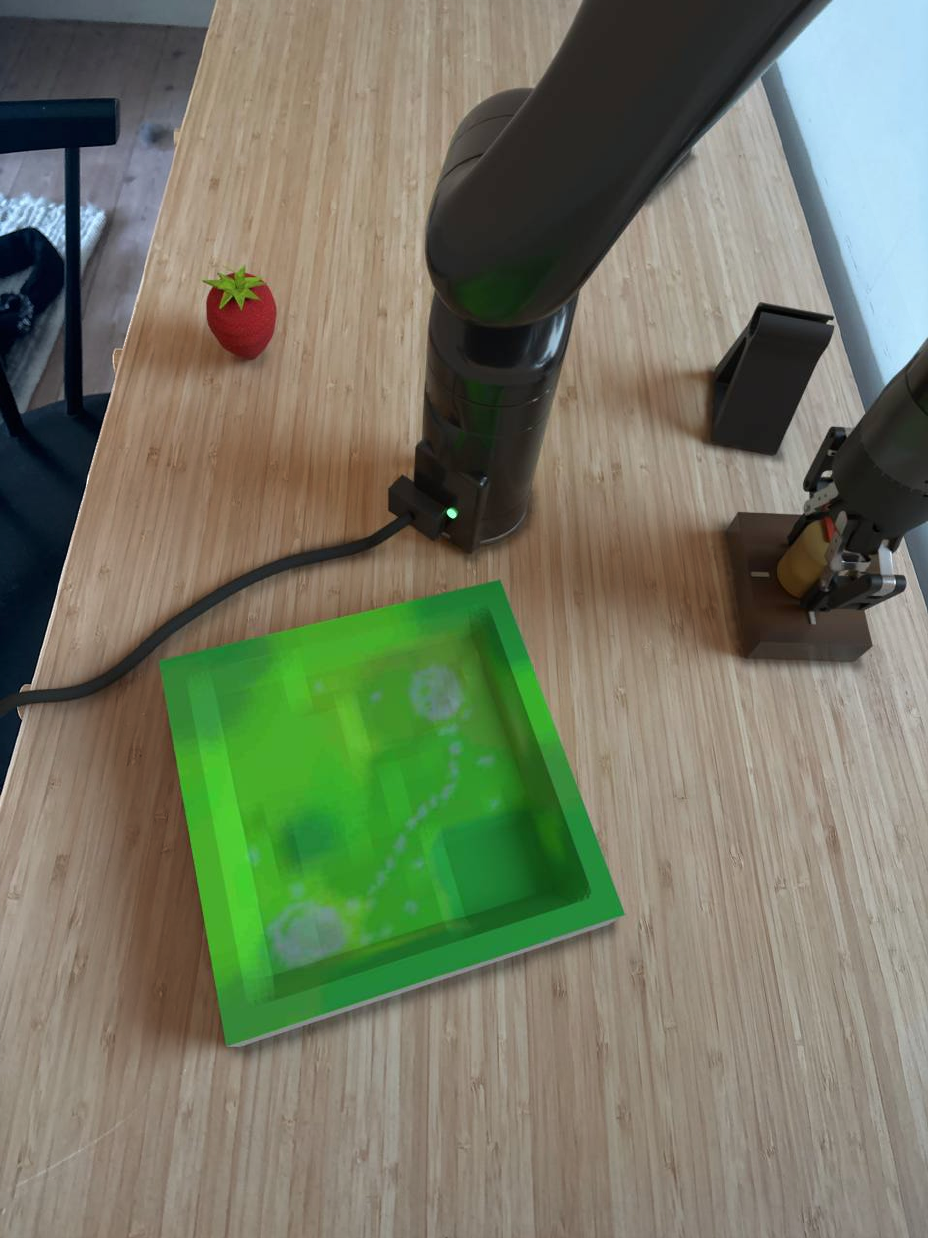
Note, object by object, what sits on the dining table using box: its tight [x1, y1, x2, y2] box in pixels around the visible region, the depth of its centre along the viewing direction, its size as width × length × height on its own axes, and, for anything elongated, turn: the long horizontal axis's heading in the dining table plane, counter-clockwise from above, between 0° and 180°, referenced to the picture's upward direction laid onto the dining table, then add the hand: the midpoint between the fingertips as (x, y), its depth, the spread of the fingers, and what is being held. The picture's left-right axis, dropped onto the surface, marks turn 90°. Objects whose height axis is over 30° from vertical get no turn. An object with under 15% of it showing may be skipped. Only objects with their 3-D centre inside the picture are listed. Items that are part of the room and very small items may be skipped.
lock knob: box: [777, 517, 848, 598], centre depth 67 cm, size 4×4×5 cm
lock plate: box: [725, 511, 874, 663], centre depth 71 cm, size 12×9×3 cm
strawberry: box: [202, 263, 278, 361], centre depth 74 cm, size 6×8×10 cm
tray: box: [158, 579, 626, 1048], centre depth 59 cm, size 25×25×5 cm
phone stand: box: [710, 301, 835, 456], centre depth 75 cm, size 9×6×12 cm, turn 170°
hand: (805, 573), depth 69 cm, fingers open, 5 cm apart
